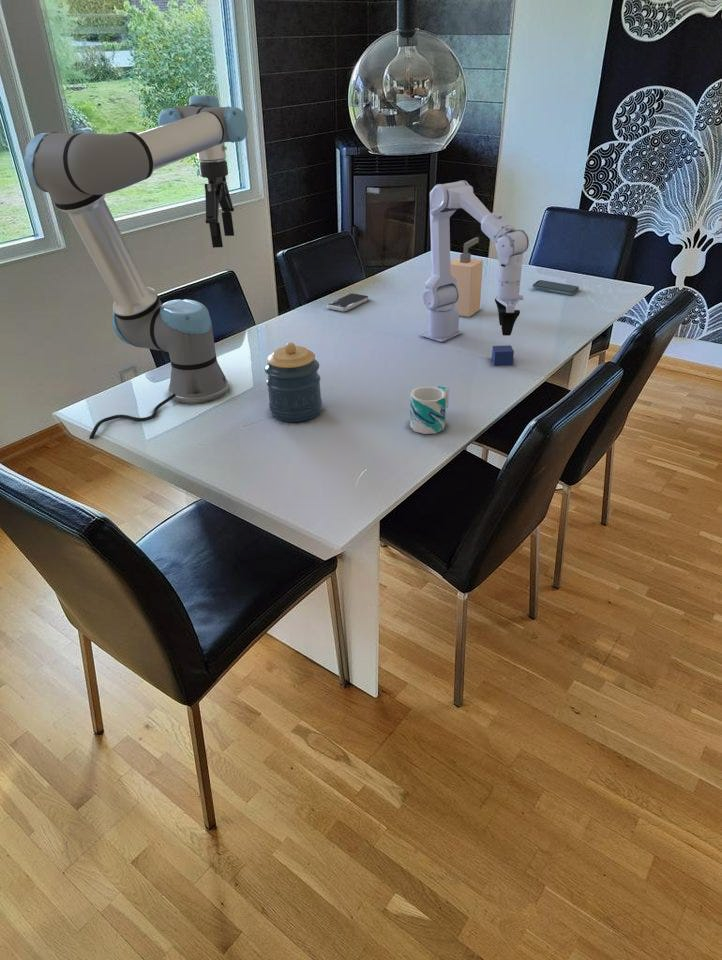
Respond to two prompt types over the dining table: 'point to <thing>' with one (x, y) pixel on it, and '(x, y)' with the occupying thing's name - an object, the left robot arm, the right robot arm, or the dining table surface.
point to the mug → (428, 409)
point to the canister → (293, 384)
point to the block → (502, 355)
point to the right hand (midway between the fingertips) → (505, 330)
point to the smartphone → (347, 302)
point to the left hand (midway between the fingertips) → (223, 241)
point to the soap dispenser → (467, 280)
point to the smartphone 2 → (555, 287)
